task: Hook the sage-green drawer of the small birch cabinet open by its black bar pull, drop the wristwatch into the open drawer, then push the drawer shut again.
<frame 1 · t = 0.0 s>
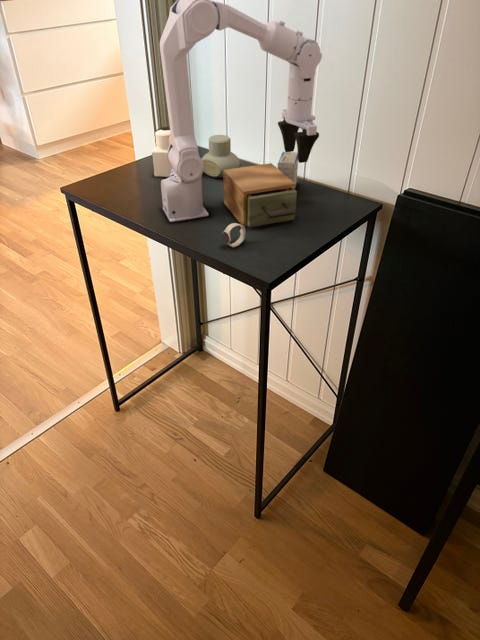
hand: (295, 156, 121), 10 cm above the table, tool pointing down, fingers open, 7 cm apart
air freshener: (220, 174, 138), on the table
drawer: (266, 202, 113), point 4 cm above the table, slide at 1.0 cm
medicine box: (286, 190, 130), on the table
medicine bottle: (169, 173, 139), on the table
cabinet: (257, 210, 120), on the table
wristwatch: (234, 246, 107), on the table
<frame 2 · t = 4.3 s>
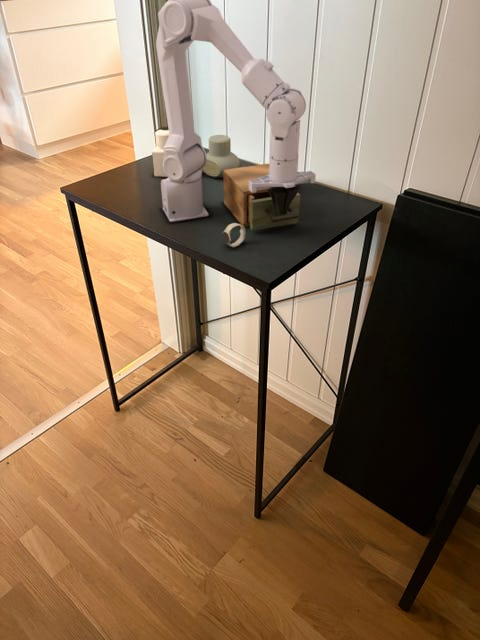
hand: (280, 217, 108), 4 cm above the table, tool pointing down, fingers closed, pressing on drawer
drawer: (269, 205, 112), point 4 cm above the table, slide at 2.8 cm, touching gripper
everything else where it was.
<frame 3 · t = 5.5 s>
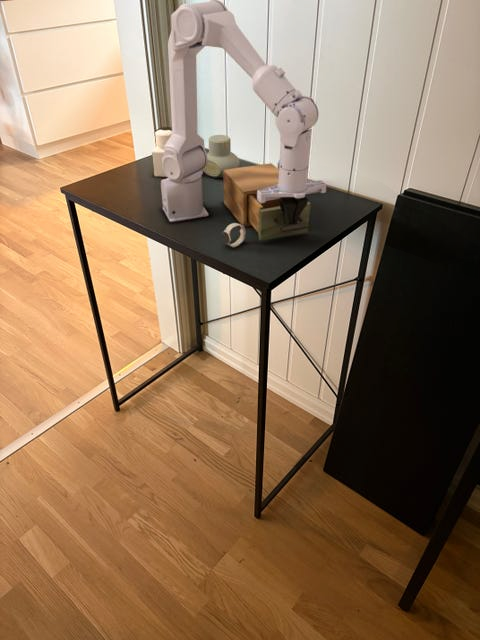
hand: (289, 228, 104), 4 cm above the table, tool pointing down, fingers closed, pressing on drawer
drawer: (278, 214, 108), point 4 cm above the table, slide at 7.7 cm, touching gripper
everything else where it was.
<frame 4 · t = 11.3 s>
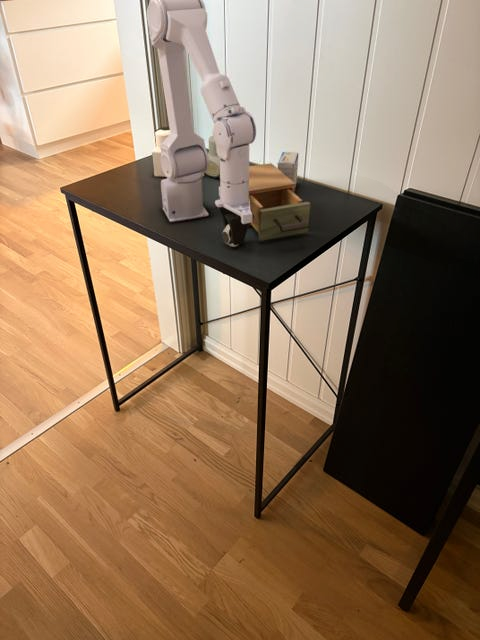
hand: (235, 239, 106), 1 cm above the table, tool pointing down, fingers closed on wristwatch, 3 cm apart
drawer: (278, 214, 108), point 4 cm above the table, slide at 7.7 cm
wristwatch: (234, 246, 107), on the table, touching gripper
everything else where it was.
when the fingers open (6 cm above the table, at t = 15.1 s): wristwatch drops 2 cm, resting on drawer.
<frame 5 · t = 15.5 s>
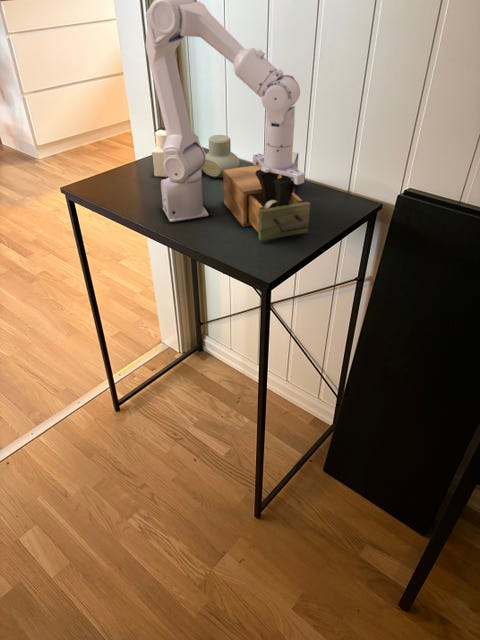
hand: (275, 205, 108), 6 cm above the table, tool pointing down, fingers open, 4 cm apart
drawer: (278, 214, 108), point 4 cm above the table, slide at 7.7 cm, touching wristwatch
wristwatch: (272, 222, 111), point 2 cm above the table, touching drawer
everything else where it was.
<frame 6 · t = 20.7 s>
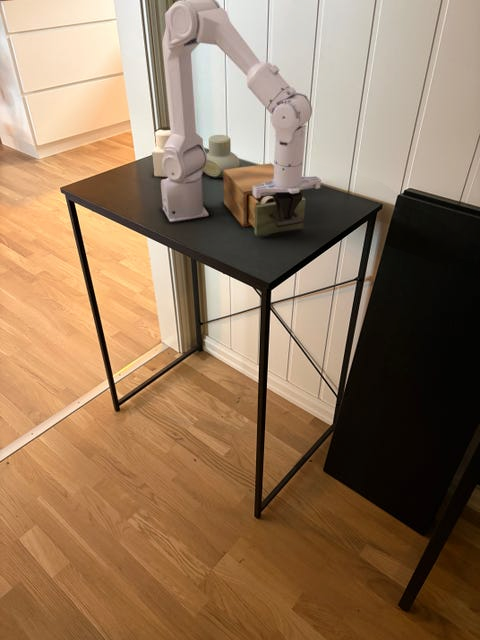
hand: (284, 223, 106), 4 cm above the table, tool pointing down, fingers closed, pressing on drawer
drawer: (274, 210, 110), point 4 cm above the table, slide at 5.3 cm, touching gripper, wristwatch
wristwatch: (268, 218, 113), point 2 cm above the table, touching drawer
everything else where it was.
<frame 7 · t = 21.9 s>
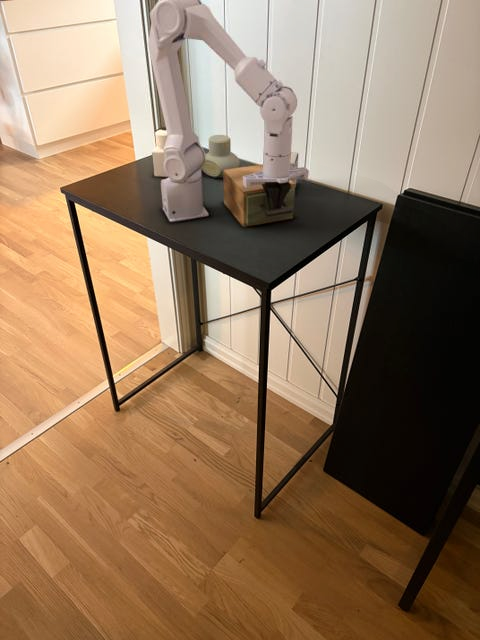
hand: (274, 212, 110), 4 cm above the table, tool pointing down, fingers closed, pressing on drawer
drawer: (264, 201, 114), point 4 cm above the table, slide at 0.0 cm, touching cabinet, gripper, wristwatch
wristwatch: (259, 208, 117), point 2 cm above the table, touching drawer
everything else where it was.
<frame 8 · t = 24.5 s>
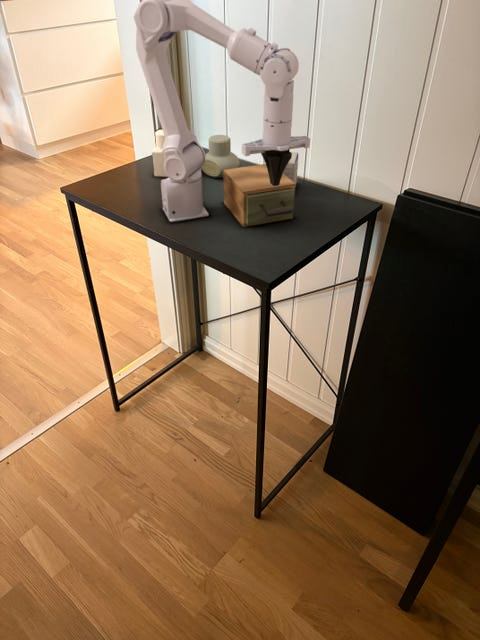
hand: (274, 184, 107), 10 cm above the table, tool pointing down, fingers closed
drawer: (264, 201, 114), point 4 cm above the table, slide at 0.0 cm, touching wristwatch
everything else where it was.
at the end: drawer pulled out 7.7 cm at the most during the clip, back to where it started at the end; wristwatch inside the target area in the cabinet (2.0 cm from its centre), point 1.8 cm above the cabinet's base; drawer slide at 0.0 cm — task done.
